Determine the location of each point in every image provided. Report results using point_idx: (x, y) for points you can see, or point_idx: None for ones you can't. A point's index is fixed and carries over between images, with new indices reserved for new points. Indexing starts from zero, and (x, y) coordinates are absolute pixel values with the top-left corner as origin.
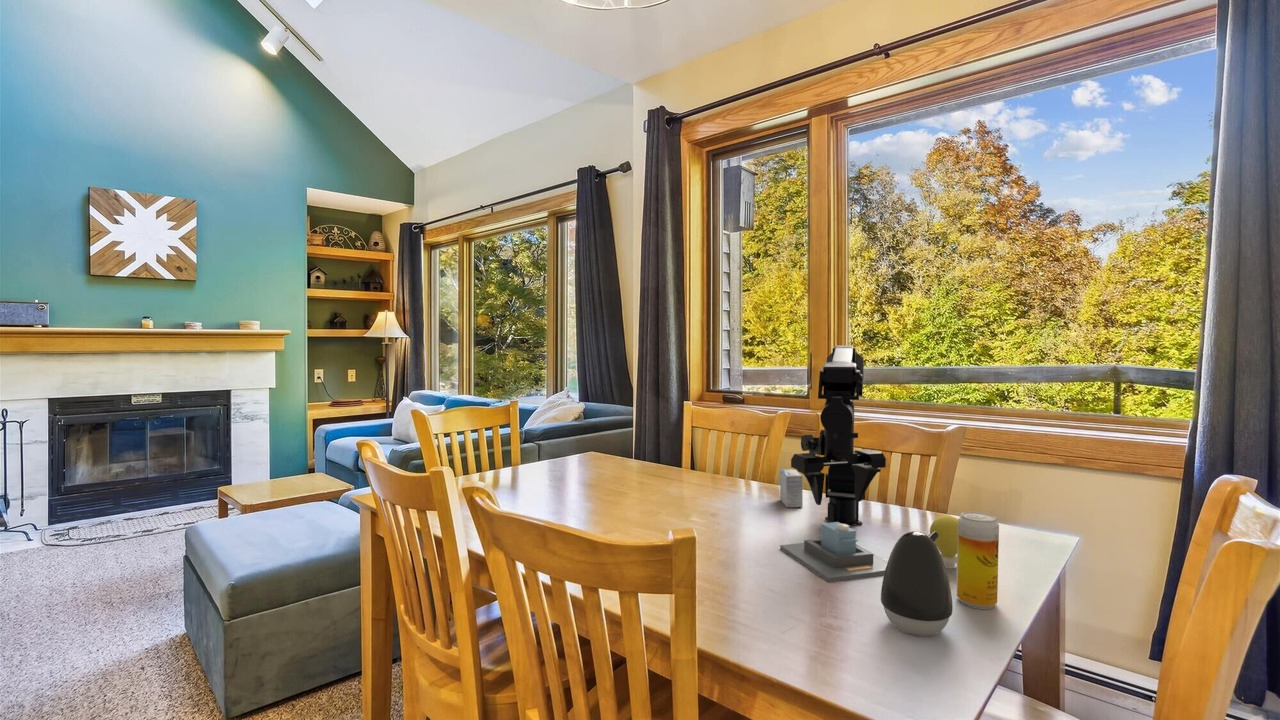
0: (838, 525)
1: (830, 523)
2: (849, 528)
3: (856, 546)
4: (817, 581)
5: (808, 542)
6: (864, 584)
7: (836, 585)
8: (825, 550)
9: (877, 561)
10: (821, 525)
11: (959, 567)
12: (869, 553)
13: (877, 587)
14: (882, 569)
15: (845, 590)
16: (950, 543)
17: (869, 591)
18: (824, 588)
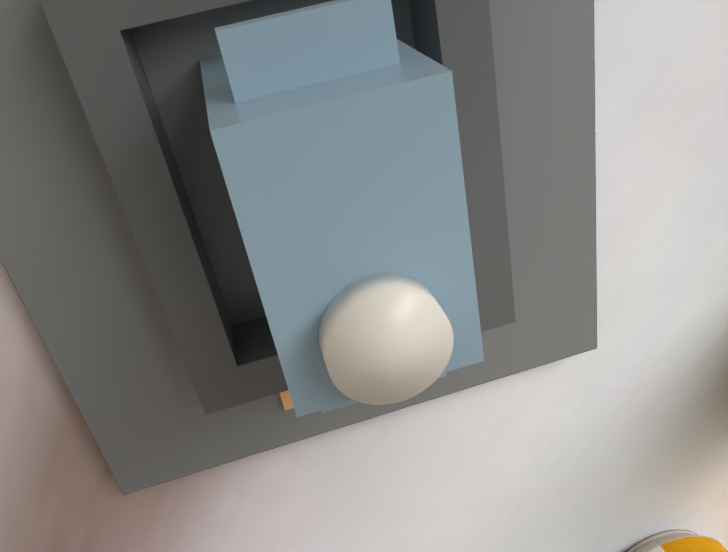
0: (345, 356)
1: (331, 130)
2: (460, 301)
3: (476, 185)
4: (56, 472)
5: (66, 66)
6: (315, 479)
7: (158, 504)
8: (182, 277)
9: (532, 253)
10: (210, 127)
11: None
12: (490, 323)
13: (363, 501)
14: (488, 368)
15: (188, 547)
16: None
17: (304, 541)
18: (78, 541)
